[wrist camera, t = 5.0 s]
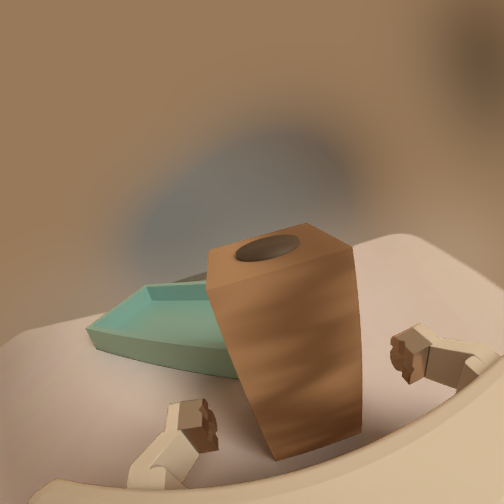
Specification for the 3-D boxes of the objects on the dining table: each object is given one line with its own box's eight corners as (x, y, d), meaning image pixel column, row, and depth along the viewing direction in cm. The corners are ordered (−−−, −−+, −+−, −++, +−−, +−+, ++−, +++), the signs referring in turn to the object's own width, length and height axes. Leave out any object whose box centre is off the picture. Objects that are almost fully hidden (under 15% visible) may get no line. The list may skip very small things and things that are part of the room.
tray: (96, 348, 28) (85, 328, 27) (153, 302, 38) (146, 284, 37) (239, 378, 19) (228, 349, 19) (284, 300, 30) (278, 275, 29)
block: (275, 461, 12) (204, 286, 9) (261, 403, 16) (207, 247, 13) (361, 431, 12) (351, 242, 9) (332, 380, 17) (305, 219, 14)
